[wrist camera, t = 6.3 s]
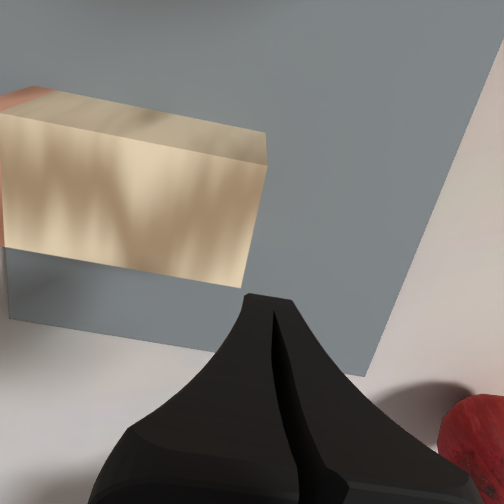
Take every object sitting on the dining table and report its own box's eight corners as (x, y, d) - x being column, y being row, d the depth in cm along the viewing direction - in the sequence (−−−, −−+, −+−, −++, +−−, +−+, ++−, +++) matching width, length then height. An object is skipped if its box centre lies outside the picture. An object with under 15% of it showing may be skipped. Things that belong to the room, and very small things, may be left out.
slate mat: (362, 371, 27) (364, 376, 26) (13, 313, 25) (9, 318, 25) (519, -17, 18) (526, -18, 17) (-8, -145, 16) (-15, -149, 16)
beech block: (240, 288, 18) (-23, 242, 17) (243, 234, 22) (35, 195, 22) (267, 165, 16) (-34, 106, 15) (265, 132, 20) (32, 85, 19)
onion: (401, 418, 29) (449, 551, 22) (456, 351, 26) (530, 476, 19) (479, 445, 30) (549, 581, 23) (538, 383, 27) (638, 513, 20)
